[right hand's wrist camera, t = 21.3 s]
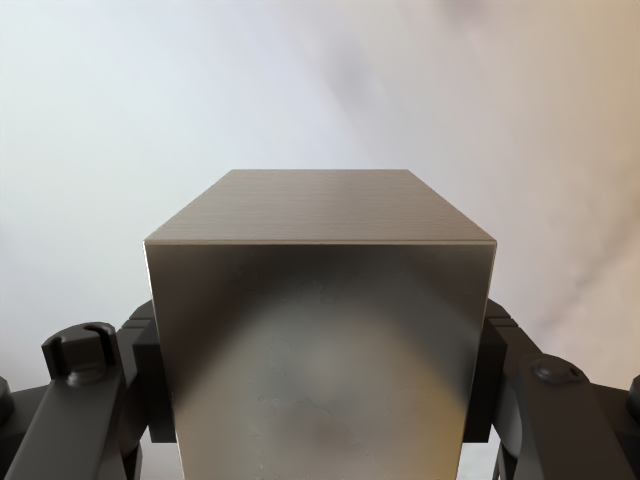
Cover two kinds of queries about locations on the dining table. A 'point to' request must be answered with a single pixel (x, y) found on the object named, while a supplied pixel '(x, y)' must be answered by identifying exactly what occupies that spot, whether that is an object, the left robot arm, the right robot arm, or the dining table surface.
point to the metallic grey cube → (319, 325)
